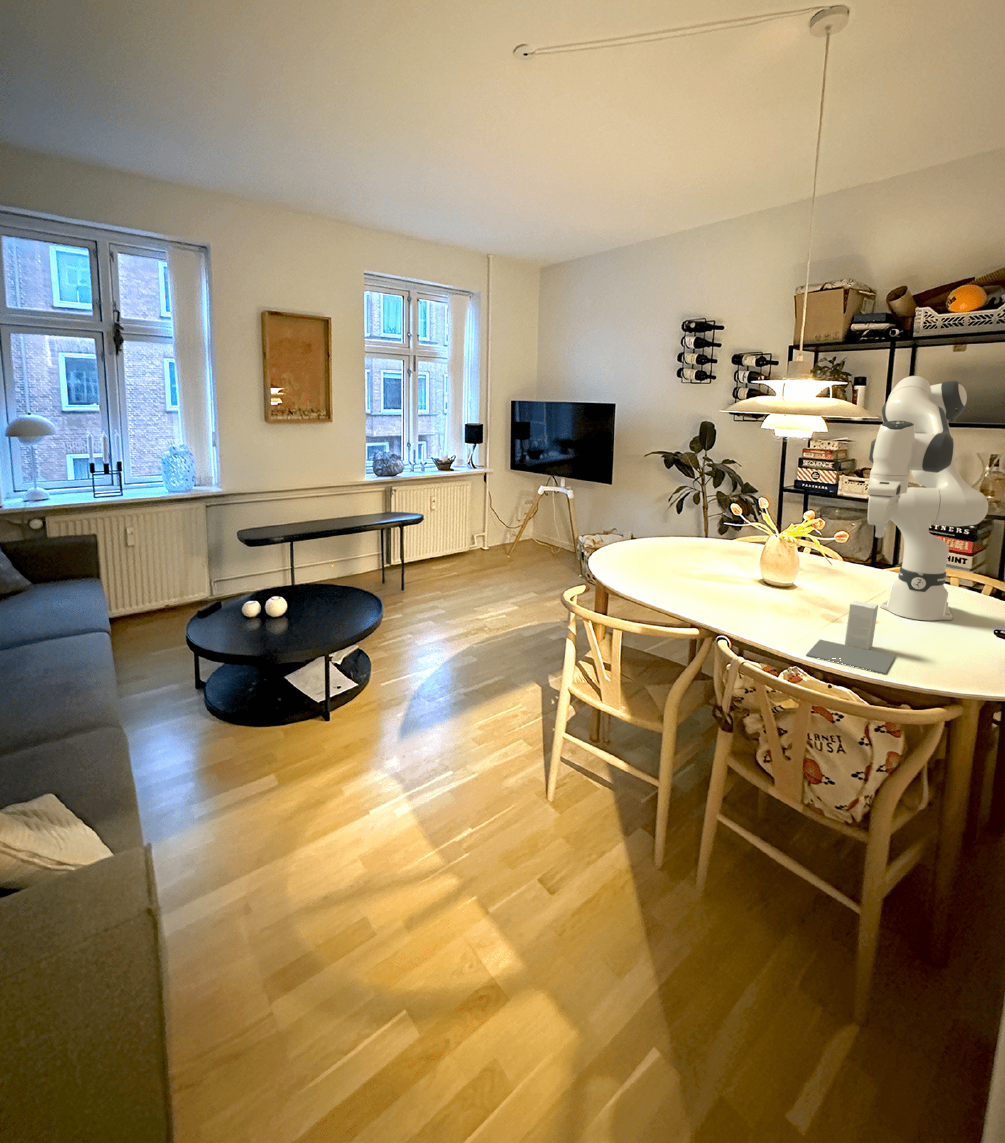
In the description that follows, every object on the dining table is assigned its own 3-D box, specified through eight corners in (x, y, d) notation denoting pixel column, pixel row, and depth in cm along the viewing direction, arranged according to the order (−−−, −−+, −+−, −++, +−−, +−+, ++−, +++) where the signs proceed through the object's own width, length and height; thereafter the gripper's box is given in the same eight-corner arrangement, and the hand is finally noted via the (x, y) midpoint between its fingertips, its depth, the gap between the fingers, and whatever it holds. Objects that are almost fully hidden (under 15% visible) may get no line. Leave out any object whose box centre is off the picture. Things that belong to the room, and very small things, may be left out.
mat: (819, 640, 172) (819, 639, 172) (894, 657, 161) (895, 655, 160) (806, 656, 162) (806, 654, 162) (885, 674, 151) (885, 673, 151)
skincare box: (872, 646, 168) (879, 604, 164) (868, 651, 165) (875, 608, 161) (847, 640, 172) (853, 599, 168) (843, 645, 168) (849, 603, 165)
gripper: (881, 479, 171) (874, 528, 175) (866, 488, 156) (858, 541, 160) (908, 481, 167) (900, 531, 171) (895, 490, 152) (886, 545, 156)
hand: (879, 536), depth 165 cm, fingers closed
